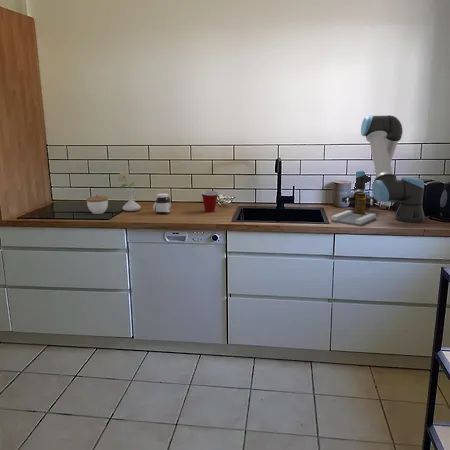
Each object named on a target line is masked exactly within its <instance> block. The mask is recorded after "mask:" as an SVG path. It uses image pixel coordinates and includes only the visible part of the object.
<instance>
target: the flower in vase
mask: <svg viewBox="0 0 450 450" xmlns="http://www.w3.org/2000/svg"><path fill="white" fill-rule="evenodd" d="M129 177H130V173H129V172H128V171H126V170H124V171H121V172H119V174H118V175H117V180H118V182H120V183H121V182H122V183H123V182H125V183H123V184H121V185H120V188H125V187H127V188H126V191H127V192H128V201H127V202H126V203H124V205H123V206H122V207H121V208H122V210H123V211H127V212H136V211H138V210H141V208H142V207H141V205H140V204H138V203H137V202H136V201H134V196H133V195H134V191H135V188H134V182H132V183H129V184H128V183H127V180H128V179H129ZM132 186H133V187H132Z"/></svg>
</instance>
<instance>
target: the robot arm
mask: <svg viewBox="0 0 450 450" xmlns="http://www.w3.org/2000/svg"><path fill="white" fill-rule="evenodd" d="M360 126H361V127H360V134H361V136H362V137H365V139H366V140H365V141H367V142H368V143H369V145H370V149H371V156H372V162H373V166H374V172H376V178H375V180H374V182H373V184H371V192H372V196H373V197H372V196H368V197H367V196H366V203H369V204H370V206H371V207H372V206H373V204H377V203H378V202H383V203H387V202H388V203H389V202H399V206H398V208H397V210H396V212H395V217H394V219H395V220H397V221H400V222H406V223H421V222H424V221H425V212H424V209H423V201H424V199H423V197H424V190H425V182H424V180H423V179H420V178H414V177H408V176H407V177H406V176H402V177H401V179H398V178H397V175H396V174H394V173H393V170H392V165H391V163H392V160H393V158H394V154H395V151H396V148H397V145H398V142H399V141H401V140H402V136H403V133H404V132H403V126H402V122H401V121H400V119H399V118H397V117H396V116H395V115H366V116H365V117H364V118H363V120H362V122H361V125H360ZM363 170H364V169H360V171H357V172H356V183H355V187H356V188H355V187H354V192H353V191H352V196H351V195H350V194H349V195H347V196H343V197H341V202H342V203H344V204H346V205H349V203H351V202H354V203H355V200H356V196H357V193H364V189H365V190H366V185H365V183H367V182H369V181H371V178H370V177H368V176H366V175H365V172H364V171H363Z"/></svg>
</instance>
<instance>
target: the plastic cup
mask: <svg viewBox="0 0 450 450" xmlns="http://www.w3.org/2000/svg"><path fill="white" fill-rule="evenodd" d="M219 193H220V192H218V191H215V190H203V191H201V192H200V194H201V196H202V201H203V206H204V211H205V213H214V212H215V211H216V205H217V199H218V196H219Z"/></svg>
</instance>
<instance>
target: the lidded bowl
mask: <svg viewBox="0 0 450 450" xmlns="http://www.w3.org/2000/svg"><path fill="white" fill-rule="evenodd" d="M86 204H87V208H88V210H89V211H90V212H91V213H92V214H93V215H99V214H104V213H105V211H107V209H108V207H109V197H107V196H99V195H98V194H96V195H95V196H90V197H87V198H86Z"/></svg>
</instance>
